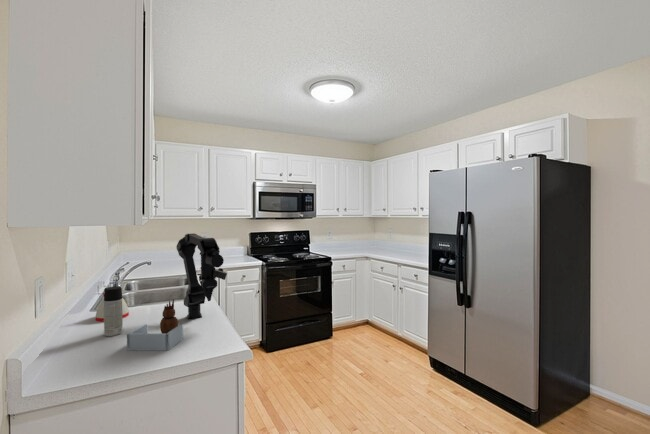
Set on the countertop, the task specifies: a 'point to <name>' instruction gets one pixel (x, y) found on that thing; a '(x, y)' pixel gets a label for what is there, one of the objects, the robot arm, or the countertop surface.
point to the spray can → (113, 311)
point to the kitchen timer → (101, 310)
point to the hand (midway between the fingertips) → (208, 298)
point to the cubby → (153, 339)
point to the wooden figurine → (168, 319)
